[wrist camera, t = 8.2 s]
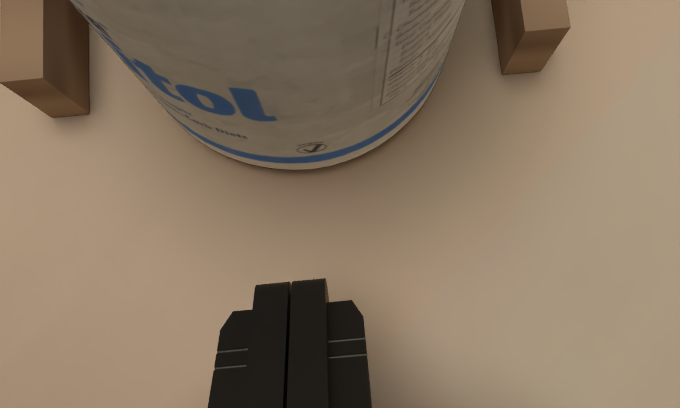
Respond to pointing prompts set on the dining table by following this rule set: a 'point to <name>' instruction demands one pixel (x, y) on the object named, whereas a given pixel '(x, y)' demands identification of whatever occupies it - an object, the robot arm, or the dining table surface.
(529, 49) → the walnut dock
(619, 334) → the dining table surface
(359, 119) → the supplement tub
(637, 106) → the dining table surface
